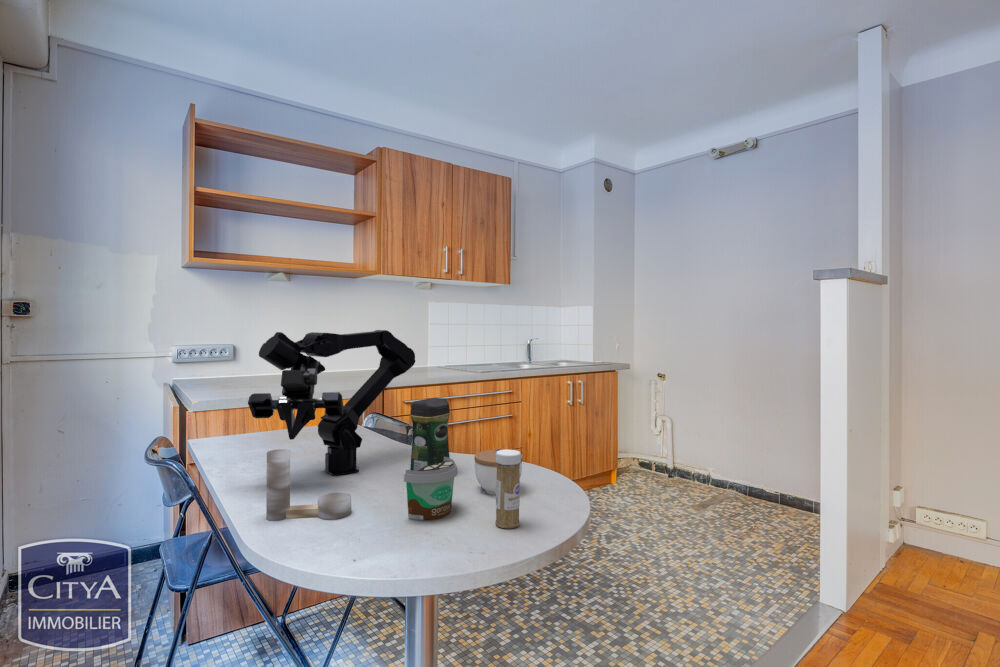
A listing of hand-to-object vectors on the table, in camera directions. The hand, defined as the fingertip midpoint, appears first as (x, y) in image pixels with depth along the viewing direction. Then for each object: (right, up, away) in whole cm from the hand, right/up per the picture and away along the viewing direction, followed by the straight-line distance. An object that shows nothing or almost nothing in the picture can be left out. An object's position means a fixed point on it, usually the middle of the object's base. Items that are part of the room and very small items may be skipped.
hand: (291, 438), depth 105 cm
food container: (+31, -13, -8) cm, 35 cm away
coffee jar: (+26, -13, +20) cm, 35 cm away
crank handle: (+7, -12, -10) cm, 17 cm away
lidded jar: (+43, -13, +8) cm, 45 cm away
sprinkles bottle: (+44, -14, -11) cm, 48 cm away
